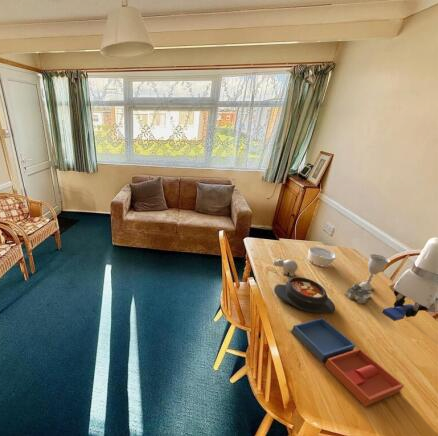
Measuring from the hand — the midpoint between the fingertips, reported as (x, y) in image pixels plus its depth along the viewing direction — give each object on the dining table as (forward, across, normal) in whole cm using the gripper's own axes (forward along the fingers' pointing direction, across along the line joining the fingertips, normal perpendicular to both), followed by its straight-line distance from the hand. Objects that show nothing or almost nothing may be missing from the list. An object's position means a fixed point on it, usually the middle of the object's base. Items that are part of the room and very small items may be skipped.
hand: (402, 311), depth 85 cm
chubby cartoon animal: (+16, +47, +6) cm, 50 cm away
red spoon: (+15, -8, +26) cm, 31 cm away
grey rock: (+15, +21, -15) cm, 30 cm away
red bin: (+15, -8, +26) cm, 31 cm away
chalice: (+15, +25, -27) cm, 40 cm away
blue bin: (+15, +6, +26) cm, 31 cm away
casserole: (+16, +26, +14) cm, 33 cm away
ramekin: (+16, +49, -23) cm, 57 cm away
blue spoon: (0, 0, +2) cm, 2 cm away
